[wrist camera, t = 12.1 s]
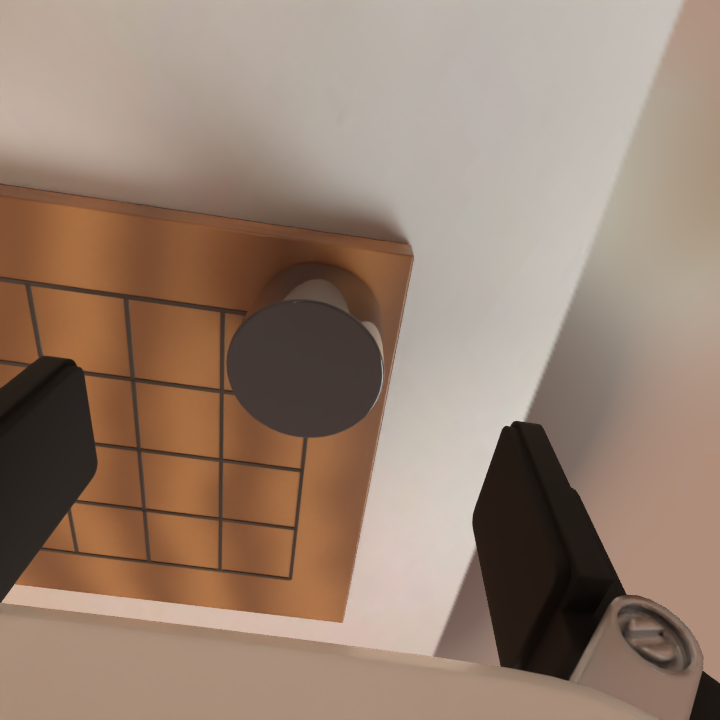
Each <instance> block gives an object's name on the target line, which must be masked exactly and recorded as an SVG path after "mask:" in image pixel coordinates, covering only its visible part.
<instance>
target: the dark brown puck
mask: <svg viewBox="0 0 720 720" xmlns="http://www.w3.org/2000/svg"><path fill="white" fill-rule="evenodd" d="M226 367H227V375H228V380H229V383H230V386H231V389H232V391H233V393H234V395H235V397H236V398H237V400H238V401H239V403H240V404H241V406H242V407H243V408H244V409H245V410H246V411H247V412H248V413H249V414H250V415H251V416H252V417H253V418H254V419H256V420H257V421H259V422H260V423H261V424H263V425H265V426H267V427H268V428H270V429H272V430H275V431H277V432H280V433H283V434H286V435H290V436H295V437H303V438H319V437H326V436H331V435H335V434H338V433H340V432H343V431H345V430H347V429H349V428H351V427H353V426H354V425H356V424H357V423H359V422H360V421H361V420H362V419H364V418H365V417H366V416H367V415H368V414H369V412H370V411H371V410H372V409H373V407H374V406H375V404H376V403H377V401H378V399H379V397H380V394H381V392H382V388H383V384H384V376H385V373H384V334H383V317H382V312H381V309H380V306H379V304H378V302H377V300H376V298H375V296H374V294H373V293H372V291H371V290H370V289H369V288H368V287H367V285H366V284H365V283H364V282H363V281H361V280H360V279H359V278H358V277H356V276H355V275H353V274H352V273H350V272H348V271H346V270H344V269H342V268H340V267H337V266H334V265H329V264H324V263H304V264H299V265H295V266H292V267H289V268H287V269H284V270H282V271H280V272H279V273H277V274H276V275H274V276H273V277H272V278H271V279H270V280H269V281H267V283H266V284H265V285H264V286H263V287H262V289H261V290H260V292H259V294H258V295H257V297H256V299H255V300H254V302H253V304H252V305H251V307H250V309H249V310H248V312H247V313H246V315H245V317H244V318H243V320H242V322H241V323H240V325H239V327H238V328H237V330H236V332H235V333H234V335H233V337H232V339H231V342H230V344H229V347H228V351H227V359H226Z"/></svg>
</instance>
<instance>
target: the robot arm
mask: <svg viewBox="0 0 720 720" xmlns="http://www.w3.org/2000/svg"><path fill="white" fill-rule="evenodd" d="M97 465H98V460H97V453H96V447H95V440H94V434H93V427H92V421H91V414H90V408H89V402H88V395H87V389H86V382H85V376H84V371H83V369H82V368H81V367H77V365H76V363H75V361H74V360H72V359H67V358H60V357H53V356H41V357H40V358H38V359H37V360H36V361H34V362H33V363H32V364H31V365H29V366H28V367H27V368H25V369H24V370H23V371H22V372H20V373H19V374H18V375H17V376H15V377H14V378H13V379H12V380H10V381H9V382H8V383H7V384H5V385H4V386H3V387H1V388H0V720H720V683H718V682H717V681H716V680H714V679H713V678H712V677H710V676H709V675H708V674H706V673H705V672H704V671H703V654H702V651H701V649H700V646H699V643H698V642H697V640H696V638H695V637H694V635H693V634H692V632H691V631H690V629H689V628H688V627H687V626H686V625H685V624H684V623H683V622H682V621H681V620H680V619H679V618H678V617H677V616H676V615H674V614H673V613H672V612H671V611H669V610H668V609H667V608H665V607H663V606H662V605H660V604H658V603H656V602H654V601H652V600H650V599H647V598H644V597H641V596H637V595H626V593H625V590H624V588H623V587H622V584H621V582H620V580H619V578H618V576H617V574H616V572H615V569H614V567H613V565H612V563H611V561H610V559H609V557H608V555H607V553H606V551H605V549H604V546H603V544H602V542H601V540H600V538H599V536H598V534H597V532H596V530H595V528H594V526H593V524H592V522H591V519H590V517H589V515H588V513H587V511H586V509H585V507H584V504H583V502H582V501H581V498H580V496H579V495H578V493H577V492H576V490H574V489H573V488H571V487H570V484H569V482H568V480H567V478H566V476H565V474H564V472H563V469H562V468H561V465H560V463H559V461H558V459H557V457H556V454H555V452H554V450H553V448H552V446H551V444H550V442H549V439H548V437H547V435H546V433H545V431H544V429H543V427H542V426H541V425H540V424H533V423H527V422H520V421H514V422H513V423H512V424H511V426H510V427H509V426H505V427H504V428H503V429H502V431H501V434H500V437H499V440H498V443H497V446H496V449H495V452H494V454H493V457H492V460H491V463H490V466H489V469H488V472H487V475H486V478H485V480H484V483H483V486H482V489H481V492H480V495H479V498H478V501H477V503H476V506H475V509H474V513H473V521H472V523H473V531H474V536H475V541H476V546H477V551H478V556H479V561H480V566H481V571H482V576H483V581H484V586H485V591H486V596H487V601H488V606H489V610H490V616H491V620H492V625H493V630H494V635H495V640H496V645H497V650H498V655H499V660H500V665H501V667H499V666H492V665H486V664H479V663H471V662H465V661H458V660H451V659H444V658H437V657H431V656H424V655H417V654H409V653H401V652H393V651H386V650H378V649H370V648H362V647H355V646H347V645H339V644H332V643H324V642H316V641H308V640H301V639H293V638H285V637H277V636H269V635H261V634H253V633H245V632H237V631H229V630H221V629H213V628H204V627H196V626H188V625H180V624H172V623H164V622H156V621H147V620H139V619H131V618H123V617H114V616H106V615H97V614H89V613H80V612H72V611H63V610H55V609H46V608H38V607H30V606H21V605H13V604H4V603H1V602H2V600H3V599H4V598H5V596H6V595H7V594H8V592H9V591H10V590H11V588H12V587H13V586H14V584H15V583H16V581H17V580H18V579H19V577H20V576H21V575H22V573H23V572H24V571H25V569H26V568H27V567H28V565H29V564H30V563H31V561H32V560H33V558H34V557H35V556H36V554H37V553H38V552H39V550H40V549H41V548H42V546H43V545H44V544H45V542H46V541H47V540H48V538H49V537H50V535H51V534H52V533H53V531H54V530H55V529H56V527H57V526H58V525H59V523H60V522H61V521H62V519H63V518H64V517H65V515H66V514H67V512H68V511H69V510H70V508H71V507H72V506H73V504H74V503H75V502H76V500H77V499H78V498H79V496H80V495H81V494H82V492H83V491H84V489H85V488H86V487H87V485H88V484H89V483H90V481H91V480H92V479H93V477H94V475H95V473H96V470H97Z"/></svg>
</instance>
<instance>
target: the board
mask: <svg viewBox="0 0 720 720" xmlns="http://www.w3.org/2000/svg"><path fill="white" fill-rule="evenodd" d="M413 260H414V255H413V251H412V247H411V245H408V244H401V243H395V242H388V241H381V240H374V239H367V238H361V237H354V236H347V235H340V234H333V233H327V232H320V231H313V230H306V229H299V228H293V227H286V226H279V225H272V224H266V223H259V222H252V221H245V220H238V219H232V218H225V217H218V216H211V215H204V214H198V213H191V212H184V211H177V210H170V209H164V208H157V207H150V206H143V205H137V204H130V203H123V202H116V201H109V200H103V199H96V198H89V197H82V196H75V195H69V194H62V193H55V192H48V191H41V190H35V189H28V188H21V187H14V186H8V185H1V184H0V388H1V387H3V386H4V385H5V384H7V383H8V382H9V381H10V380H12V379H13V378H14V377H15V376H17V375H18V374H19V373H20V372H22V371H23V370H24V369H25V368H27V367H28V366H29V365H31V364H32V363H33V362H34V361H36V360H37V359H38V358H40V357H41V356H53V357H60V358H67V359H72V360H74V361H75V363H76V365H77V367H81V368H82V369H83V371H84V376H85V382H86V389H87V395H88V402H89V408H90V414H91V421H92V427H93V434H94V440H95V447H96V453H97V460H98V465H97V470H96V473H95V475H94V477H93V479H92V480H91V481H90V483H89V484H88V485H87V487H86V488H85V489H84V491H83V492H82V494H81V495H80V496H79V498H78V499H77V500H76V502H75V503H74V504H73V506H72V507H71V508H70V510H69V511H68V512H67V514H66V515H65V517H64V518H63V519H62V521H61V522H60V523H59V525H58V526H57V527H56V529H55V530H54V531H53V533H52V534H51V535H50V537H49V538H48V540H47V541H46V542H45V544H44V545H43V546H42V548H41V549H40V550H39V552H38V553H37V554H36V556H35V557H34V558H33V560H32V561H31V563H30V564H29V565H28V567H27V568H26V569H25V571H24V572H23V573H22V575H21V576H20V577H19V579H18V580H17V581H16V583H15V584H16V585H25V586H33V587H42V588H50V589H59V590H67V591H76V592H84V593H93V594H101V595H110V596H118V597H127V598H135V599H144V600H152V601H161V602H169V603H178V604H186V605H195V606H203V607H212V608H220V609H229V610H237V611H246V612H254V613H263V614H271V615H280V616H288V617H297V618H305V619H314V620H322V621H331V622H339V623H342V622H343V620H344V615H345V609H346V604H347V599H348V594H349V589H350V584H351V579H352V573H353V568H354V563H355V558H356V553H357V548H358V543H359V538H360V532H361V527H362V522H363V517H364V512H365V507H366V502H367V496H368V491H369V486H370V481H371V476H372V471H373V466H374V461H375V455H376V450H377V445H378V440H379V435H380V430H381V425H382V419H383V414H384V409H385V404H386V399H387V394H388V389H389V384H390V378H391V373H392V368H393V363H394V358H395V353H396V348H397V342H398V337H399V332H400V327H401V322H402V317H403V312H404V306H405V301H406V296H407V291H408V286H409V281H410V276H411V271H412V265H413ZM304 263H324V264H329V265H334V266H337V267H340V268H342V269H344V270H346V271H348V272H350V273H352V274H353V275H355V276H356V277H358V278H359V279H360V280H361V281H363V282H364V283H365V284H366V285H367V287H368V288H369V289H370V290H371V291H372V293H373V294H374V296H375V298H376V300H377V302H378V304H379V306H380V309H381V312H382V317H383V334H384V373H385V376H384V384H383V388H382V392H381V394H380V397H379V399H378V401H377V403H376V404H375V406H374V407H373V409H372V410H371V411H370V412H369V414H368V415H367V416H366V417H365V418H364V419H362V420H361V421H360V422H359V423H357V424H356V425H354V426H353V427H351V428H349V429H347V430H345V431H343V432H340V433H338V434H335V435H331V436H326V437H319V438H303V437H295V436H290V435H286V434H283V433H280V432H277V431H275V430H272V429H270V428H268V427H267V426H265V425H263V424H261V423H260V422H259V421H257V420H256V419H254V418H253V417H252V416H251V415H250V414H249V413H248V412H247V411H246V410H245V409H244V408H243V407H242V406H241V404H240V403H239V401H238V400H237V398H236V397H235V395H234V393H233V391H232V389H231V386H230V383H229V380H228V375H227V367H226V359H227V351H228V347H229V344H230V342H231V339H232V337H233V335H234V333H235V332H236V330H237V328H238V327H239V325H240V323H241V322H242V320H243V318H244V317H245V315H246V313H247V312H248V310H249V309H250V307H251V305H252V304H253V302H254V300H255V299H256V297H257V295H258V294H259V292H260V290H261V289H262V287H263V286H264V285H265V284H266V283H267V281H269V280H270V279H271V278H272V277H273V276H274V275H276V274H277V273H279V272H280V271H282V270H284V269H287V268H289V267H292V266H295V265H299V264H304Z"/></svg>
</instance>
